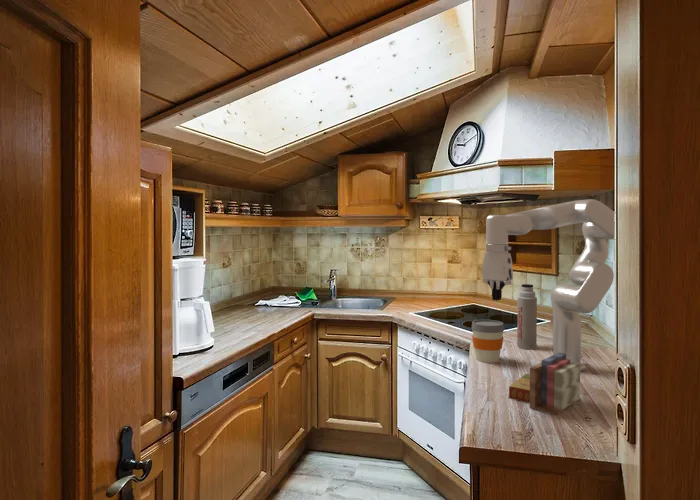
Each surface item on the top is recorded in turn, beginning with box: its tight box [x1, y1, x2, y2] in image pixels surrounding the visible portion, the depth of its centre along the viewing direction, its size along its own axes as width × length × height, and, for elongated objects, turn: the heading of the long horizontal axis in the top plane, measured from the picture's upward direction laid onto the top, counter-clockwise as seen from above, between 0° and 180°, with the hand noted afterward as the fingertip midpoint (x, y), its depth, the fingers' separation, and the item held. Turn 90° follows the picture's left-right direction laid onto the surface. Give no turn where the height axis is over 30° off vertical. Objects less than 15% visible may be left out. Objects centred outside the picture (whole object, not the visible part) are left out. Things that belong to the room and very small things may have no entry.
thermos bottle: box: [516, 283, 538, 350], centre depth 196 cm, size 8×8×28 cm
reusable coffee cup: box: [471, 319, 505, 364], centre depth 179 cm, size 13×13×15 cm
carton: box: [508, 373, 530, 403], centre depth 142 cm, size 8×16×4 cm, turn 141°
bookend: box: [529, 353, 581, 416], centre depth 133 cm, size 18×8×14 cm, turn 131°
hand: (496, 299), depth 161 cm, fingers closed
